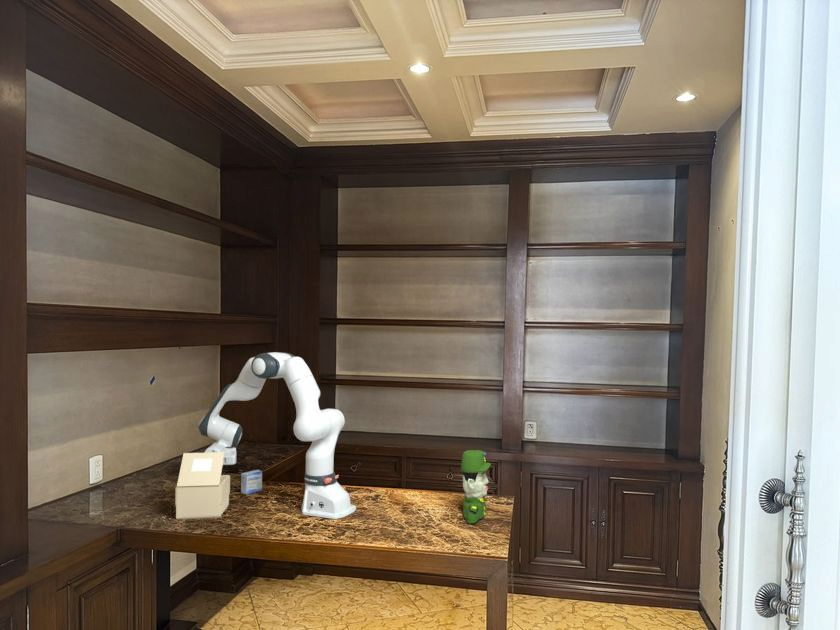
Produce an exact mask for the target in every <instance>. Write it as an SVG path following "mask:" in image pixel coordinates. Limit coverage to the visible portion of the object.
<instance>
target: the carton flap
mask: <svg viewBox="0 0 840 630" xmlns="http://www.w3.org/2000/svg"><path fill="white" fill-rule="evenodd" d="M223 460H224V452H213V453H204V452H183V455H182V459H181V464H180V469H179V473H178V478H177V483H176V486H177V487H188V486H219V485H220V478H221V475H222V470H223V467H224V465H223Z"/></svg>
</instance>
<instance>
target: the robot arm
mask: <svg viewBox="0 0 840 630" xmlns="http://www.w3.org/2000/svg"><path fill="white" fill-rule="evenodd" d="M267 379H268V380H269V379H284V381H285V384H286V386H287V388H288V390H289V392H290V395H291V398H292V401H293V402H294V406H295V410H296V414H295V416H296V417H295V421H294V423H293V426H292V427H293V429H292V430H293V434H294V436H295V437H296V439H298V440H299V441H301V442H311V444H310V447H309V448H308V449H307V451H306V454H305V472H304V483H305V484H304V493H303V500H302V504H301V509H300V510H301V514H302V515H305V516H311V517H317V518H326V519H332V520H336V519H337V520H338V519H341V518H344V517H347V516H349V515H352V514H353V513H354V512H356V510H357V505H354V504H351V497H350V494H349V492H348V491H347V490H346V489H345V488H343V486H341V484H340V483H339V482H338V479H339V478H340V477H339V474H337V475H336V473H335V470H334V458H335V457H334V456H335V450H336V449H335V448H336V445H337V441H338V438H339V435H340V433H341V431H342V430H343V428H344V426H345V423H346V421H345V416H344V414H343V412H342V411H340V409H336V408H325V409H321V408H320V405H319V399H320V397H321V390H320V388H319V385H318V384H317V381H316V379H315V377H314V375H313V373H312V371H311V369H310V367H309V366H308V364H307V363H306V362H305V360H304V359H303V358H302V357H300V356H295V355H294V354H292V353H289V352H277V351H275V352H274V351H273V352H263V353H260V354H259V353H258V355H256V356H253V357H250V358H249V359H248V360H247V362H246V363H245V364H244V366H243V368H242V370H241V371H240V373H239V375H238V377H237V379H236V380H235V381H234V382H233V383H229V384H227V385H226V386H225V387H224V388H223V389H222V391H221V392H220V394H219V395H218V397H216V399H215V401H214V402H213V404H212V405H211V406H210V408H209V410H208V411H207V413H206V414H205V415H204V416H203V417H202V419H201V420H200V421H199V423H198V427H197V428H198V431H199V433H200V435H201V436H203V437H207V438H210V439H213V440H216V441H215V442H213V443H212V444H211V445H210V446H208V448H206V449H205V451H204V452H203V453H213V452H224V460H223V466H232V465H236V463H237V447H238V445H239V443H240V442H241V439H242V437H243V434H244V433H243V431H244V430H243V427H242V426H241V424H239V423H236V422H234V421H231V420H229V419H227V418H224V417H222V416H220V414H219V413H220V412H221V410H222V409H223V407H224V405H225V404H226V403H227V402H229V401H242V402H245V401H251V400H254V399H256V398H257V397H258V396H259V395H260V393H261V391H262V389H263V388H264V387H263V386H264V385H265V383H266V380H267Z"/></svg>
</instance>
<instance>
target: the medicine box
mask: <svg viewBox="0 0 840 630" xmlns="http://www.w3.org/2000/svg"><path fill="white" fill-rule="evenodd" d="M240 477H241V478H240V483H241V484H240V492H241V494H244V495H251V494H253V493H257V492H260V491H263V471H262V470H260V469H253V470H250V471H246V472H241V474H240Z"/></svg>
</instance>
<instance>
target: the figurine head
mask: <svg viewBox="0 0 840 630" xmlns="http://www.w3.org/2000/svg"><path fill="white" fill-rule="evenodd" d="M461 458H462V459H461V463H460V471H461V475H462V487H463V491H464V493H465V494H464V501H463V505H462V506H463V507H462V513H463V517H464V518H465V520H466V522H467V524H473V525H474V524H476V523H477V522H478V521H479V520H481V519H483V518H484V517H485V516H486V514H487V505H486V497H485V496H487V494H488V491H489V487H488V484H489V482H490V481H489V480H488V477H487V474H486V472H487V471H488V470H489V469H490V467H491V465H492V463H490V462H488V461H487V462H486V452H485V451H483V450H479V449H469V450H466V451H463V453H462V457H461Z"/></svg>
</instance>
